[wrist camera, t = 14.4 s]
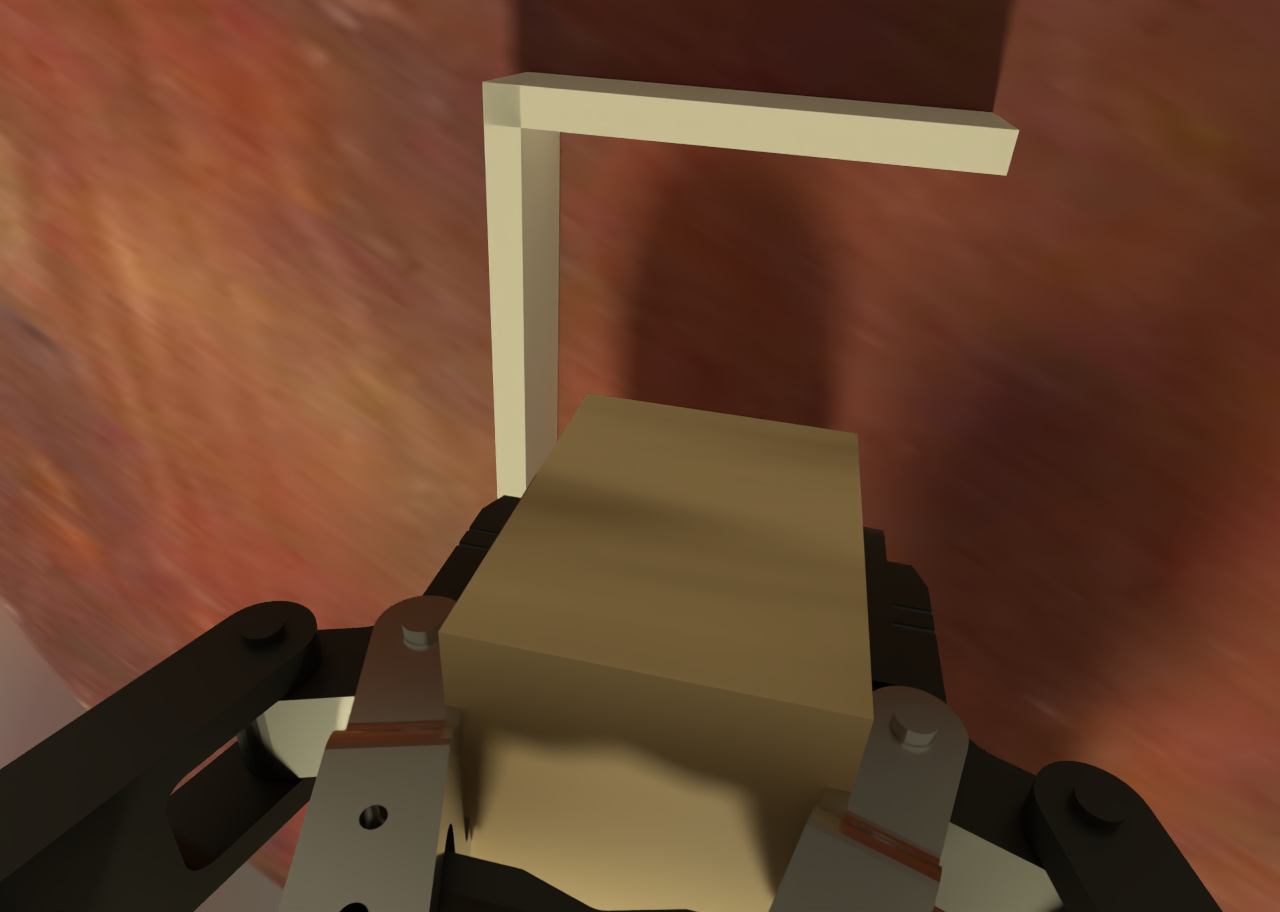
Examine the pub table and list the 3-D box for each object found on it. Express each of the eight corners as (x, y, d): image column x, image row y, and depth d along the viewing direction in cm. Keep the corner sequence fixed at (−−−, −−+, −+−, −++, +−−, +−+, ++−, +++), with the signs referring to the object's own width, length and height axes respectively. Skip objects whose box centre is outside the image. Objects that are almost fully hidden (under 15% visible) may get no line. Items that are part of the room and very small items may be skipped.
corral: (834, 713, 33) (834, 784, 30) (533, 653, 35) (505, 714, 32) (992, 112, 21) (1019, 129, 18) (527, 71, 23) (482, 81, 20)
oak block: (810, 640, 15) (798, 967, 10) (581, 597, 16) (461, 882, 11) (857, 433, 13) (874, 718, 8) (587, 393, 13) (437, 631, 8)
